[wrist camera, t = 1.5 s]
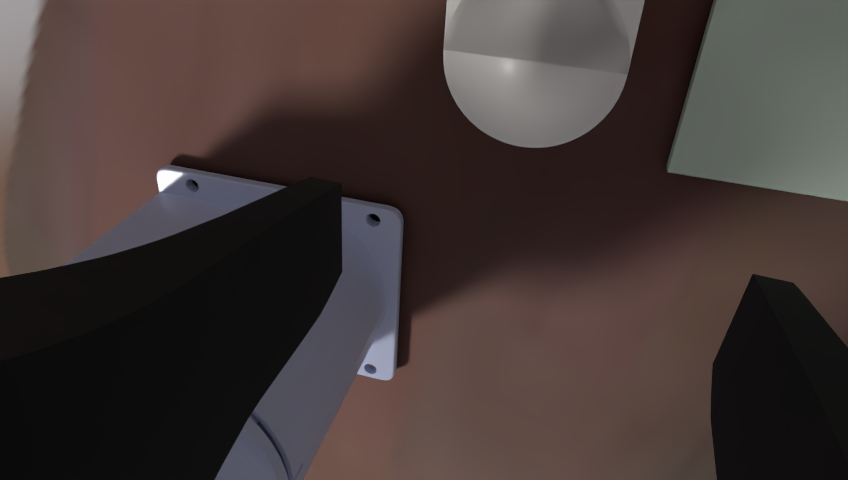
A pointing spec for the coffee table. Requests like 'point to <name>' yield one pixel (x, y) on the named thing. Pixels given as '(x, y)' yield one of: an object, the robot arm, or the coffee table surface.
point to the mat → (769, 98)
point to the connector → (538, 64)
